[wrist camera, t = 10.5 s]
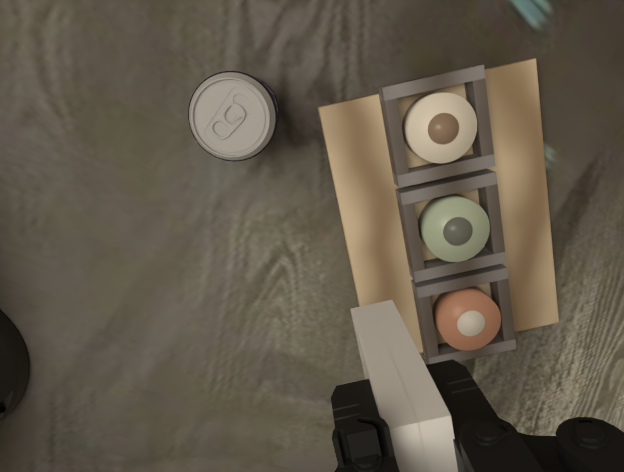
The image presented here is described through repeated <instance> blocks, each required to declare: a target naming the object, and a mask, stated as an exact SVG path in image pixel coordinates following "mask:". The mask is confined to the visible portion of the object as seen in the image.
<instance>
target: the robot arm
mask: <svg viewBox="0 0 624 472" xmlns="http://www.w3.org/2000/svg"><path fill="white" fill-rule="evenodd" d="M350 310H351V315H352V319H353V324H354V329H355V333H356V338H357V343H358V347H359V352H360V357H361V361H362V366H363V371H364V375H365V379H366V380H361V381H357V382H352V383H348V384H343V385H338V386H336V388H335V390H334V392H333V394H332V396H331V402H332V408H333V415H334V422H335V429H334V431H333V435H332V441H333V445H334V449H335V453H336V457H337V461H338V467H337V469H336V470H335V472H624V432H622V431H621V430H619V429H618V428H616V427H615V426H613V425H611V424H609V423H607V422H605V421H603V420H599V419H595V418H591V417H577V418H573V419H568V420H566V421H564V422H563V423H561V424H560V425H559V426H558V429H557V431H556V436H534V435H526V434H522V433H518V432H517V430H516V429H515V428H514V427H513V426H512V425H511V424H510V423H509V422H506V421H504V420H502V419H500V418H498V416H497V415H496V413H495V412H494V410H493V409H492V407H491V405H490V404H489V402H488V401H487V399H486V398H485V396H484V395H483V393H482V392H481V390H480V388H478V385H477V384H476V382H475V381H474V379H473V378H472V376H471V375H470V373H469V371H468V370H467V368H466V367H465V366H463V365H462V364H460V363H458V362H457V361H455V360H453V359H451V360H447V361H442V362H438V363H433V364H428V365H425V363H424V361H423V359H422V357H421V355H420V353H419V351H418V349H417V347H416V346H415V344H414V342H413V340H412V338H411V336H410V334H409V332H408V330H407V328H406V326H405V324H404V322H403V320H402V318H401V316H400V314H399V312H398V310H397V308H396V306H395V304H394V302H393V300H388V301H383V302H379V303H374V304H370V305H365V306H361V307H356V308H352V309H350ZM28 376H29V360H28V355H27V351H26V347H25V345H24V342H23V340H22V338H21V336H20V334H19V333H18V331H17V329H16V328H15V327H14V325H13V324H12V323H11V321H10V320H9V319H8V318H7V317H6V316H5V315H4V314H3V313H2V312H1V311H0V422H1V421H2V420H3V419H4V418H5V417H6V415H7V414H8V413H9V412H10V411H11V410H12V409H13V407H14V406H15V405H16V404H17V403H18V401H19V400H20V398H21V397H22V395H23V393H24V391H25V388H26V385H27V382H28Z"/></svg>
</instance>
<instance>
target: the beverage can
mask: <svg viewBox="0 0 624 472" xmlns="http://www.w3.org/2000/svg"><path fill="white" fill-rule="evenodd" d="M278 117H279V106H278V102H277V99H276V96H275V94H274V93H273V91H272V90H271V89H270V87H269V86H268V85H267V84H265V83H264V82H263V81H261V80H259V79H257V78H255V77H253V76H250V75H248V74H245V73H242V72H237V71H224V72H220V73H216V74H214V75H212V76H210V77H208V78H207V79H205V80H204V81H203V82H202V83H201V84H200V85H199V86H198V87H197V89H196V90H195V92H194V93H193V95H192V98H191V100H190V104H189V110H188V119H189V125H190V128H191V131H192V134H193V136H194V138H195V139H196V141H197V142H198V144H199V145H200V146H201V147H202V148H203V149H204V150H205V151H206V152H208V153H209V154H211V155H213V156H214V157H217V158H219V159H222V160H226V161H242V160H246V159H249V158H252V157H254V156H256V155H257V154H259V153H260V152H261V151H263V150H264V149H265V148H266V146H267V145H268V144H269V142H270V141H271V139H272V137H273V135H274V132H275V129H276V125H277V122H278Z"/></svg>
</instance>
